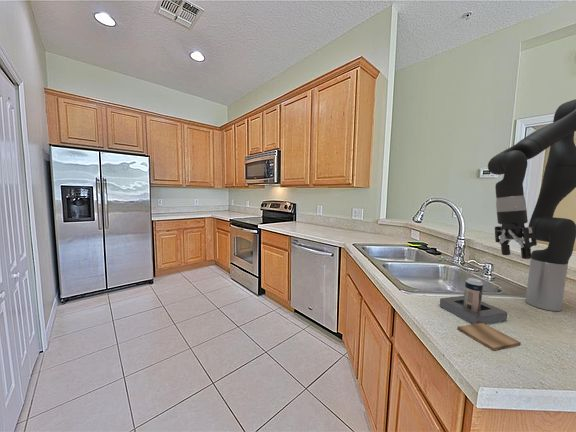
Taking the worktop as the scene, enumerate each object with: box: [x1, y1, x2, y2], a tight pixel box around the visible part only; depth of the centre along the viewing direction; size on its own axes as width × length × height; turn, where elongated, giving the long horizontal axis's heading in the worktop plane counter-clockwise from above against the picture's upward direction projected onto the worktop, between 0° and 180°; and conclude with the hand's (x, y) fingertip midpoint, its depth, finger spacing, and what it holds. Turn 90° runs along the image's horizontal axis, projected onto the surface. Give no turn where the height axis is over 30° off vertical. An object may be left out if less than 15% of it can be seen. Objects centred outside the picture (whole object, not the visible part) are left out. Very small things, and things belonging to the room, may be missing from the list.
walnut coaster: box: [456, 323, 522, 351], centre depth 68 cm, size 10×10×1 cm
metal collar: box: [439, 295, 508, 325], centre depth 81 cm, size 13×13×3 cm
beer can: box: [463, 277, 484, 311], centre depth 80 cm, size 5×5×12 cm
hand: (515, 256), depth 81 cm, fingers open, 8 cm apart
